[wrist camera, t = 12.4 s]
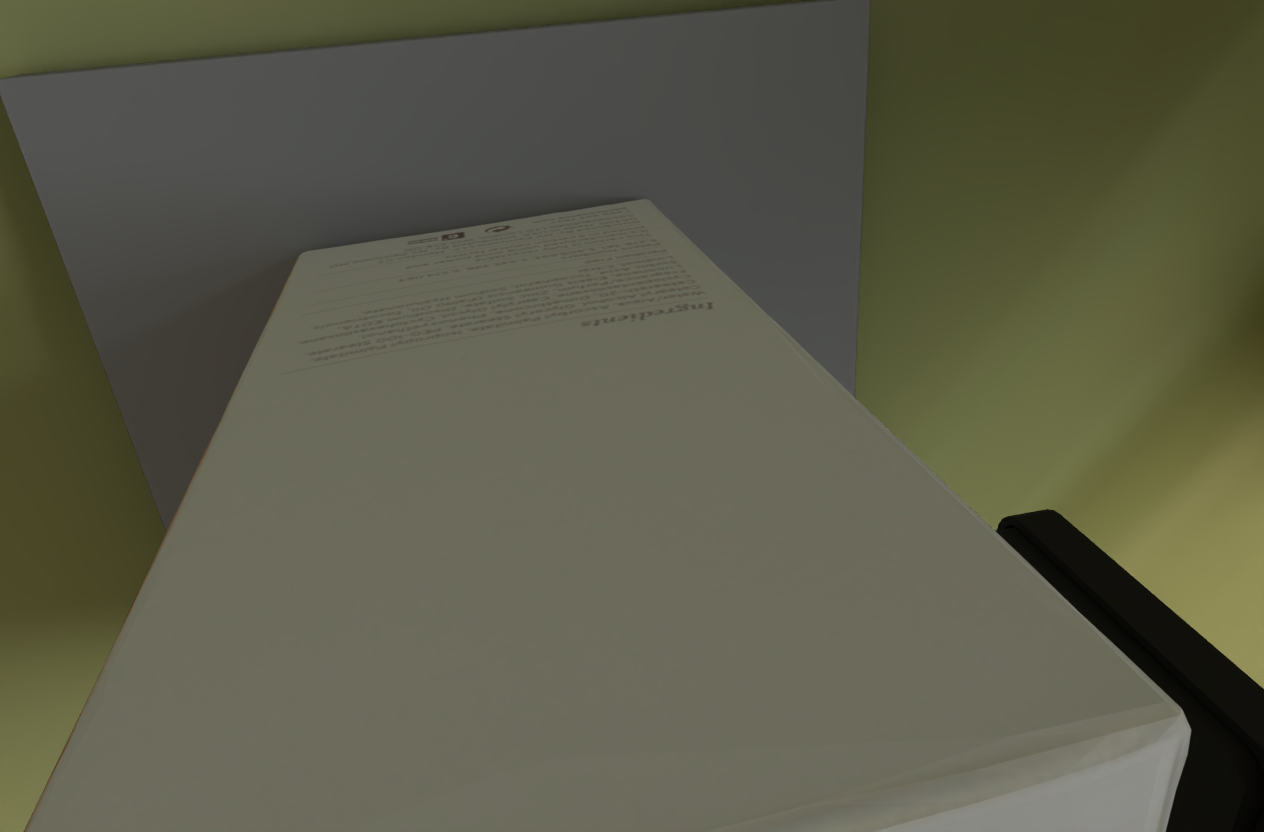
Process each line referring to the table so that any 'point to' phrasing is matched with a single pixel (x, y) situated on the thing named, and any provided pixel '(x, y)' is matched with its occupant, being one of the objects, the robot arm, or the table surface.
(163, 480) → the rest mat
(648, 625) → the small box
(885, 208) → the table surface
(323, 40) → the table surface
